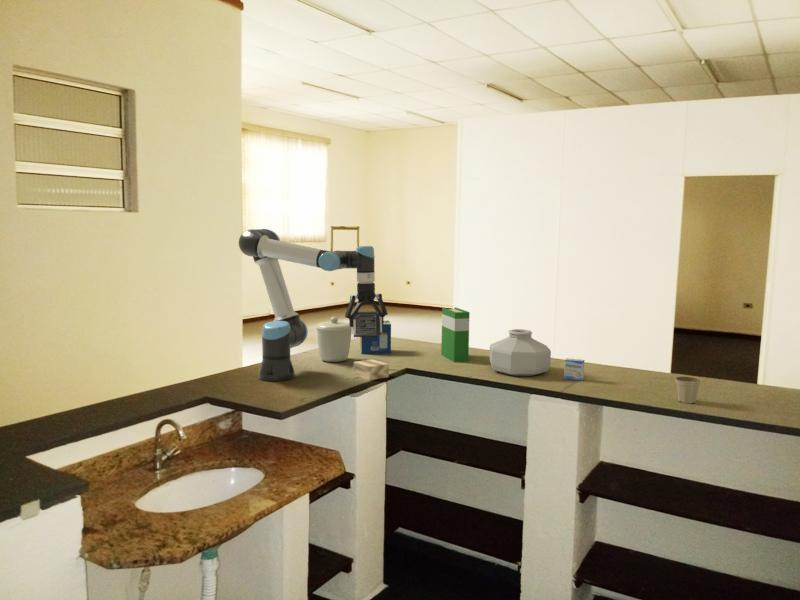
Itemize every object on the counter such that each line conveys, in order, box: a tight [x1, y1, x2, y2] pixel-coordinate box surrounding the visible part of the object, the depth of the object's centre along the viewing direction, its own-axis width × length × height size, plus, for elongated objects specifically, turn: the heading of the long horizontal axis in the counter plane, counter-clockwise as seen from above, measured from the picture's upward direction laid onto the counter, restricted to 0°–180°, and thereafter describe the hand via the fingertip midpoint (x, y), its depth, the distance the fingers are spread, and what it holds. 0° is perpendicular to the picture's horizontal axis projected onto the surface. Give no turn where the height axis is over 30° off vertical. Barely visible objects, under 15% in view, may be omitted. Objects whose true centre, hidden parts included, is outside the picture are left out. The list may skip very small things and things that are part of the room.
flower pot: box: [674, 375, 702, 404], centre depth 246 cm, size 9×9×9 cm
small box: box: [353, 310, 380, 338], centre depth 278 cm, size 11×6×10 cm, turn 82°
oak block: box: [353, 358, 390, 381], centre depth 282 cm, size 10×12×6 cm
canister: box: [314, 316, 352, 363], centre depth 312 cm, size 18×18×21 cm
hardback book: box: [440, 306, 471, 363], centre depth 320 cm, size 18×7×24 cm, turn 17°
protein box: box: [359, 320, 392, 355], centre depth 334 cm, size 10×15×16 cm
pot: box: [489, 328, 552, 377], centre depth 294 cm, size 28×28×19 cm
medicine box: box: [563, 358, 585, 382], centre depth 280 cm, size 8×4×9 cm, turn 68°
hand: (366, 333), depth 278 cm, fingers closed on small box, 12 cm apart
